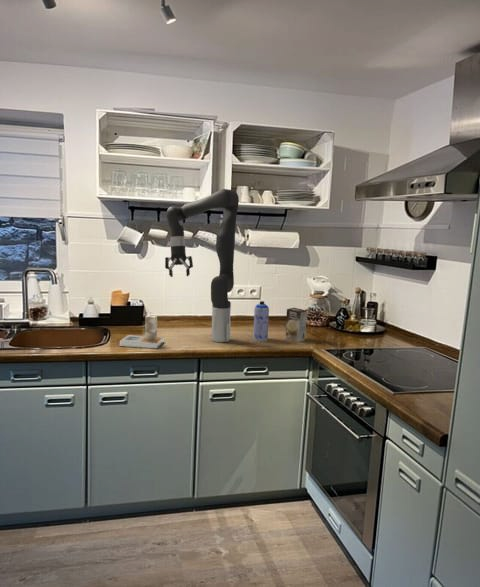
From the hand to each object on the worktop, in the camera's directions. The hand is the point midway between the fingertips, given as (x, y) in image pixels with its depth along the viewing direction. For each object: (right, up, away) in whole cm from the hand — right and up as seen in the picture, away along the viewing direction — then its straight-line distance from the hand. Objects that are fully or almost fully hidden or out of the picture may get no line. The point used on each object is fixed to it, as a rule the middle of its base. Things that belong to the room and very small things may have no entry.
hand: (179, 276), depth 242 cm
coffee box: (+61, -33, +1) cm, 69 cm away
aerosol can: (+42, -33, -1) cm, 54 cm away
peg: (-11, -34, -19) cm, 40 cm away
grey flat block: (-16, -33, -19) cm, 41 cm away
